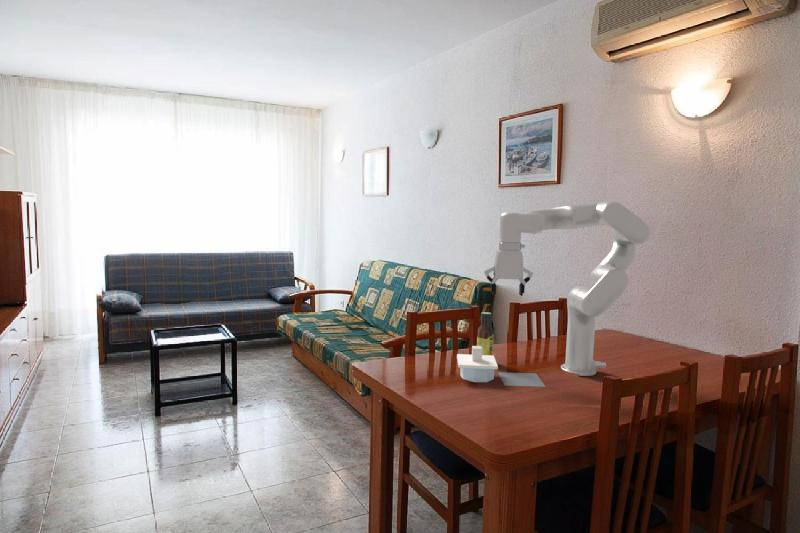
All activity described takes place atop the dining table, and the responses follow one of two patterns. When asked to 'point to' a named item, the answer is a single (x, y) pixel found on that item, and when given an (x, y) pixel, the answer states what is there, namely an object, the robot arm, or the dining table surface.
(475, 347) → the lid
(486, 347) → the sauce bottle
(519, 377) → the mat
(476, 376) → the bowl
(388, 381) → the dining table surface
